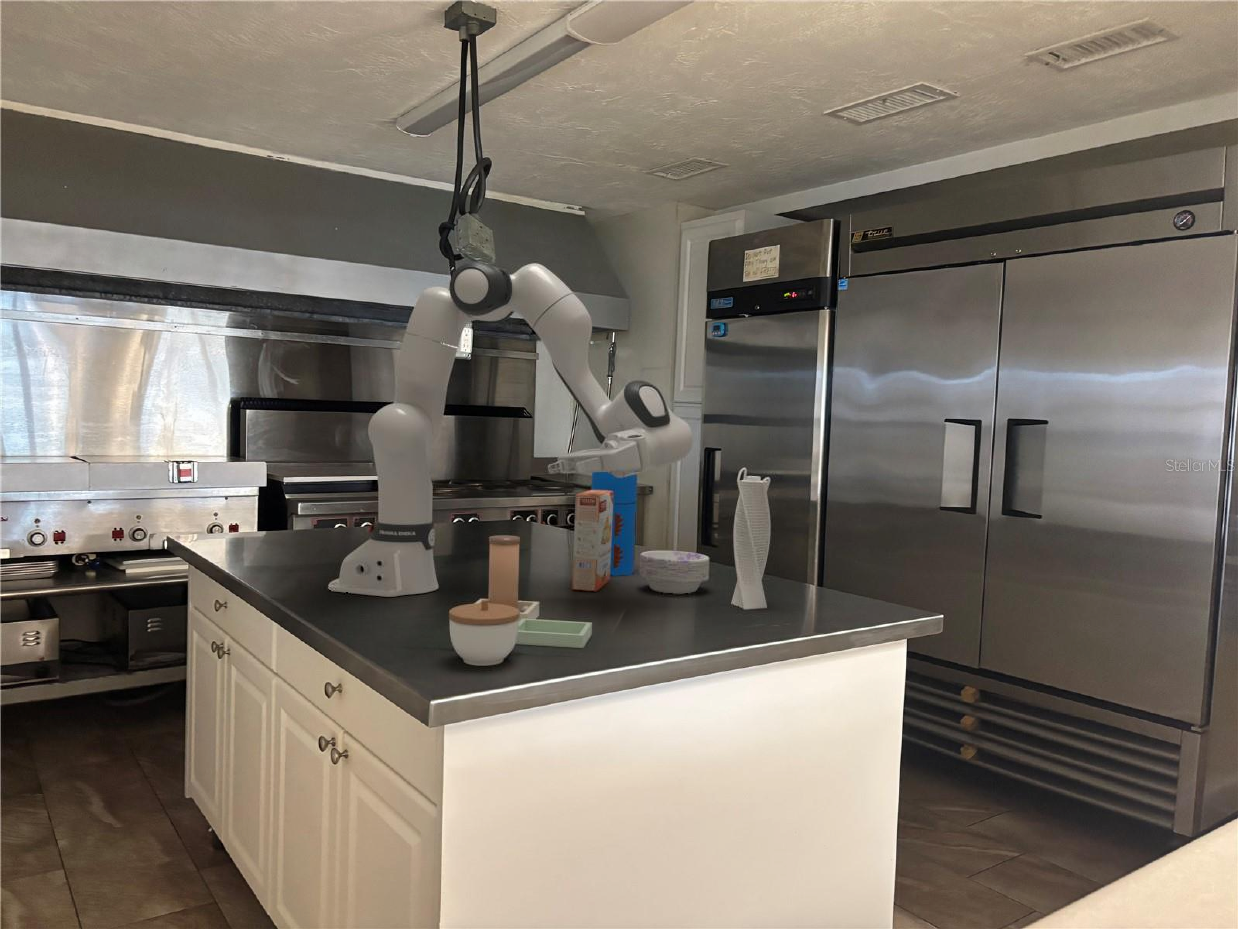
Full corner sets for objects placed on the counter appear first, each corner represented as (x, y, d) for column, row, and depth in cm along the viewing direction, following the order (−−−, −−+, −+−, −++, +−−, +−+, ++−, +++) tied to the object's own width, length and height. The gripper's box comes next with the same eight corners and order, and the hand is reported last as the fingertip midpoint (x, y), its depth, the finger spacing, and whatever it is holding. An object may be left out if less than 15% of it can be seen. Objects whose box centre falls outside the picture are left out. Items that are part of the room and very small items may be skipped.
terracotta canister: (483, 622, 159) (485, 538, 158) (492, 615, 164) (493, 534, 164) (514, 624, 158) (516, 540, 158) (521, 617, 164) (523, 536, 163)
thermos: (607, 566, 226) (610, 466, 224) (642, 572, 219) (646, 469, 218) (580, 572, 217) (583, 468, 215) (616, 578, 210) (619, 470, 209)
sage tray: (509, 649, 145) (509, 631, 145) (521, 636, 154) (522, 618, 154) (582, 654, 144) (583, 635, 144) (591, 640, 153) (591, 622, 153)
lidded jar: (440, 654, 142) (441, 595, 141) (506, 648, 146) (507, 591, 146) (458, 673, 132) (459, 609, 131) (528, 666, 136) (529, 605, 136)
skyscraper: (722, 602, 187) (727, 467, 185) (754, 600, 190) (759, 467, 188) (741, 610, 179) (747, 469, 178) (774, 608, 182) (780, 470, 181)
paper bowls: (712, 586, 204) (713, 551, 204) (703, 599, 189) (704, 562, 189) (646, 581, 207) (647, 547, 207) (632, 594, 193) (633, 557, 192)
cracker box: (598, 592, 193) (601, 495, 192) (571, 591, 194) (573, 493, 193) (612, 581, 207) (614, 489, 205) (586, 579, 208) (588, 488, 207)
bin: (400, 626, 159) (401, 606, 158) (420, 614, 168) (420, 595, 168) (526, 634, 156) (527, 614, 156) (538, 620, 166) (539, 602, 166)
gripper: (590, 441, 185) (532, 454, 177) (649, 435, 168) (588, 450, 160) (596, 471, 185) (538, 485, 178) (656, 468, 168) (594, 484, 161)
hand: (562, 468), depth 169 cm, fingers open, 8 cm apart
